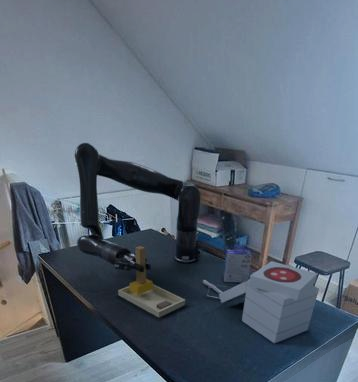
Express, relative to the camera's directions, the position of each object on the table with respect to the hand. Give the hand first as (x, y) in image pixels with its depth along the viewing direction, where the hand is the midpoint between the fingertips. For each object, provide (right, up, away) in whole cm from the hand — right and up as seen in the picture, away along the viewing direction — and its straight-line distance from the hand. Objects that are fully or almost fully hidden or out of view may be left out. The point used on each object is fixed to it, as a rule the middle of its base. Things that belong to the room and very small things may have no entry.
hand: (146, 268), depth 115 cm
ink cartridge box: (+35, -1, +23) cm, 42 cm away
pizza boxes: (+39, -17, -2) cm, 43 cm away
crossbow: (+26, -7, +14) cm, 30 cm away
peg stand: (-2, -7, +7) cm, 10 cm away
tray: (+1, -11, +5) cm, 12 cm away
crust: (+6, -13, +1) cm, 15 cm away
